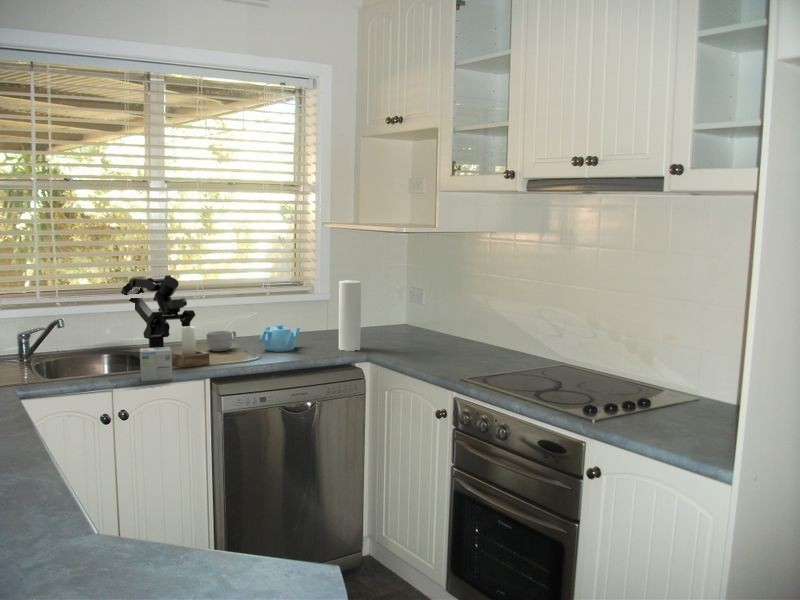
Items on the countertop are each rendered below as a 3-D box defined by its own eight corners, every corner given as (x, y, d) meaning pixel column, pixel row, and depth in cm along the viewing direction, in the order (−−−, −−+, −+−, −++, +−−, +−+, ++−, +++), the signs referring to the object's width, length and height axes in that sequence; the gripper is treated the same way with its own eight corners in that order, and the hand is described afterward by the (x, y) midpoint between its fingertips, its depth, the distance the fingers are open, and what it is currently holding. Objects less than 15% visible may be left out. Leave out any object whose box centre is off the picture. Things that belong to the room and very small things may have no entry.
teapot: (266, 345, 337) (266, 321, 336) (300, 346, 336) (300, 322, 335) (258, 352, 322) (258, 327, 321) (293, 353, 321) (293, 327, 320)
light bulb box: (171, 375, 277) (170, 346, 276) (172, 379, 271) (172, 349, 270) (140, 377, 273) (139, 347, 272) (141, 381, 267) (140, 351, 266)
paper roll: (181, 359, 299) (181, 326, 298) (195, 358, 301) (195, 325, 299) (182, 361, 294) (181, 328, 293) (196, 361, 296) (195, 327, 294)
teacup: (213, 353, 317) (213, 334, 316) (201, 349, 325) (201, 331, 324) (243, 350, 326) (243, 331, 324) (231, 346, 334) (231, 328, 333)
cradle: (169, 362, 298) (168, 352, 297) (192, 359, 305) (192, 348, 305) (185, 367, 290) (185, 356, 289) (209, 363, 297) (209, 353, 297)
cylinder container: (359, 351, 327) (360, 281, 323) (337, 350, 327) (338, 281, 323) (361, 347, 336) (361, 279, 332) (339, 346, 336) (340, 279, 333)
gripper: (152, 291, 298) (166, 324, 292) (194, 290, 311) (208, 321, 305) (141, 308, 304) (154, 340, 298) (182, 306, 318) (196, 337, 312)
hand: (179, 334), depth 303 cm, fingers open, 9 cm apart
